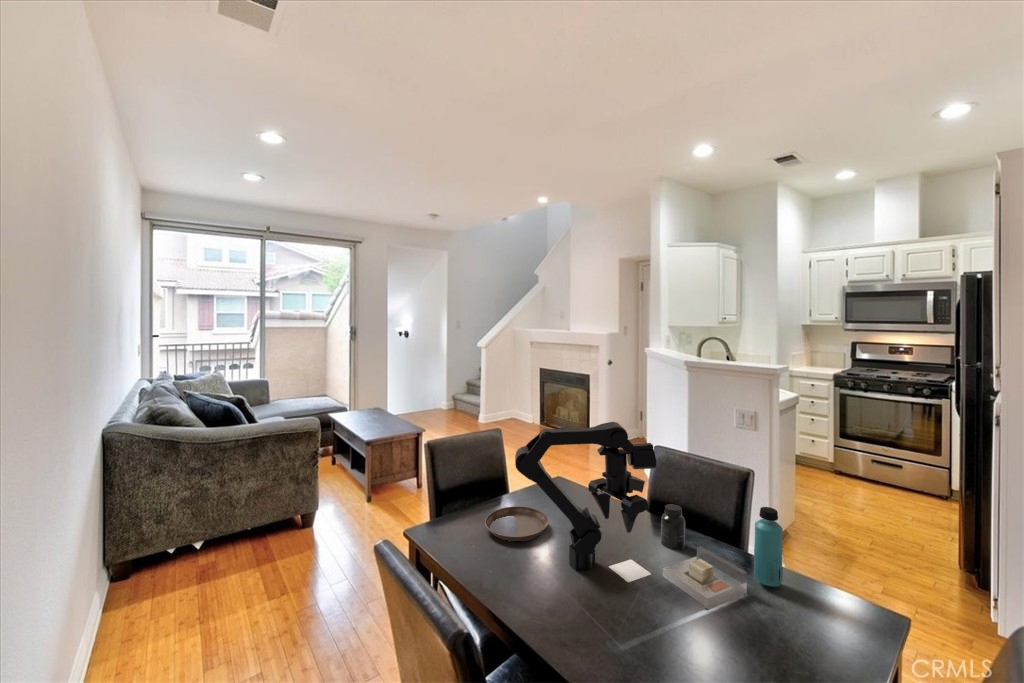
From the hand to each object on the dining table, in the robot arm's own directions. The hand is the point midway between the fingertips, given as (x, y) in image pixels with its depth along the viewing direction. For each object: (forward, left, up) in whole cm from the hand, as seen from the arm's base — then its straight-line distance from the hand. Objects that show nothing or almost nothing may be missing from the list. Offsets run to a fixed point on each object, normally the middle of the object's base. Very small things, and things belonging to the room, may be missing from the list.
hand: (617, 525), depth 121 cm
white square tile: (+1, -4, -12) cm, 13 cm away
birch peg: (+13, -17, -12) cm, 24 cm away
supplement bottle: (+22, +1, -12) cm, 25 cm away
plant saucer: (-15, +32, -13) cm, 38 cm away
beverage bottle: (+29, -24, -12) cm, 39 cm away
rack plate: (+14, -17, -12) cm, 25 cm away
